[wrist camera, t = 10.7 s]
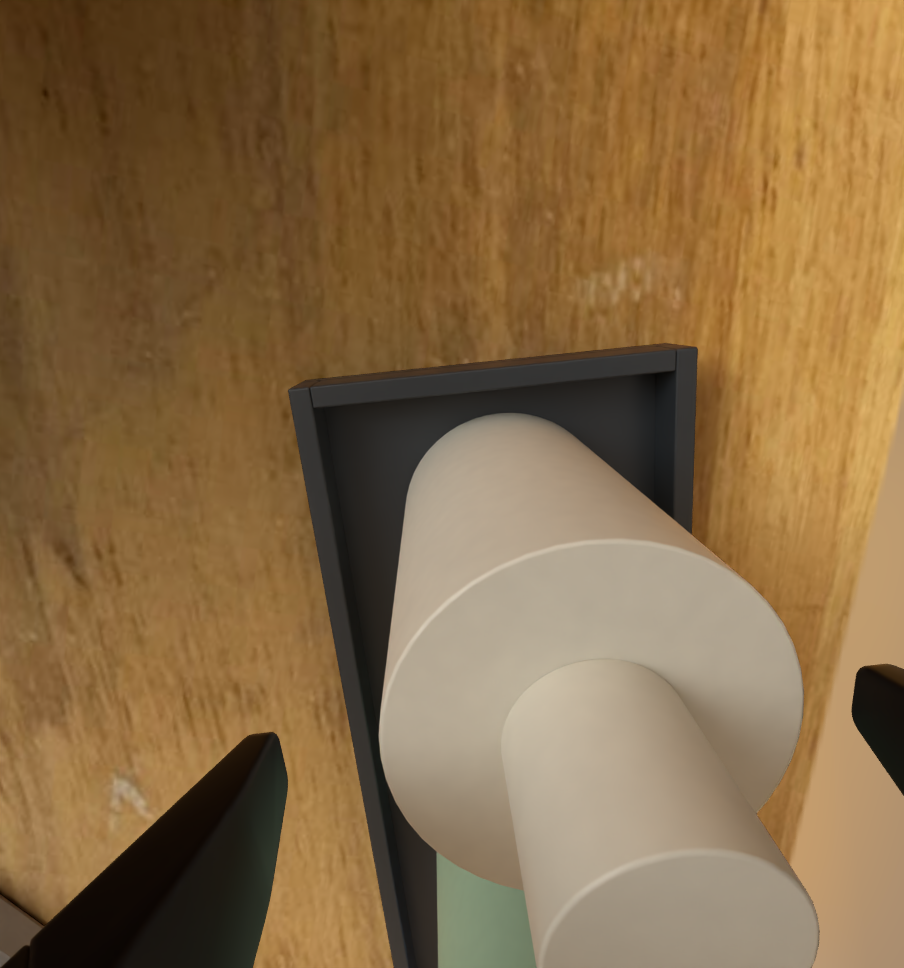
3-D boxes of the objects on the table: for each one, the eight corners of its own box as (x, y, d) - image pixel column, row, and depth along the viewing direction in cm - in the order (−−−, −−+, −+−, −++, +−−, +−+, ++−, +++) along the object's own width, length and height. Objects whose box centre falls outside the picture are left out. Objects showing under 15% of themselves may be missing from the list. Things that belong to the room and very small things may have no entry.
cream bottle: (603, 402, 17) (1078, 644, 5) (605, 590, 19) (948, 1124, 6) (393, 423, 17) (295, 727, 4) (417, 610, 19) (395, 1187, 6)
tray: (667, 342, 17) (699, 346, 15) (655, 1020, 26) (674, 1079, 24) (303, 380, 17) (287, 388, 15) (419, 1047, 26) (419, 1108, 24)
